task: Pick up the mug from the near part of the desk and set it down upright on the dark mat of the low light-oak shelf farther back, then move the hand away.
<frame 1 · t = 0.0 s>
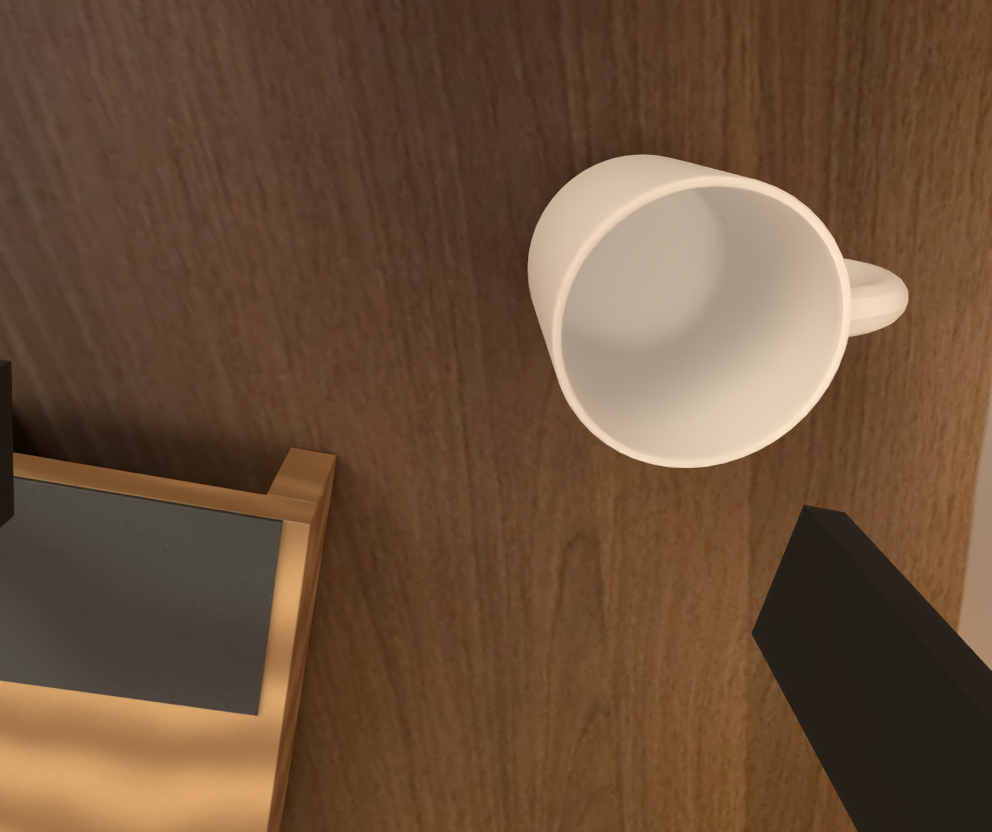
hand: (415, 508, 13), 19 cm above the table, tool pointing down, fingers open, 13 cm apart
shelf: (137, 631, 36), on the table
mug: (674, 260, 31), on the table
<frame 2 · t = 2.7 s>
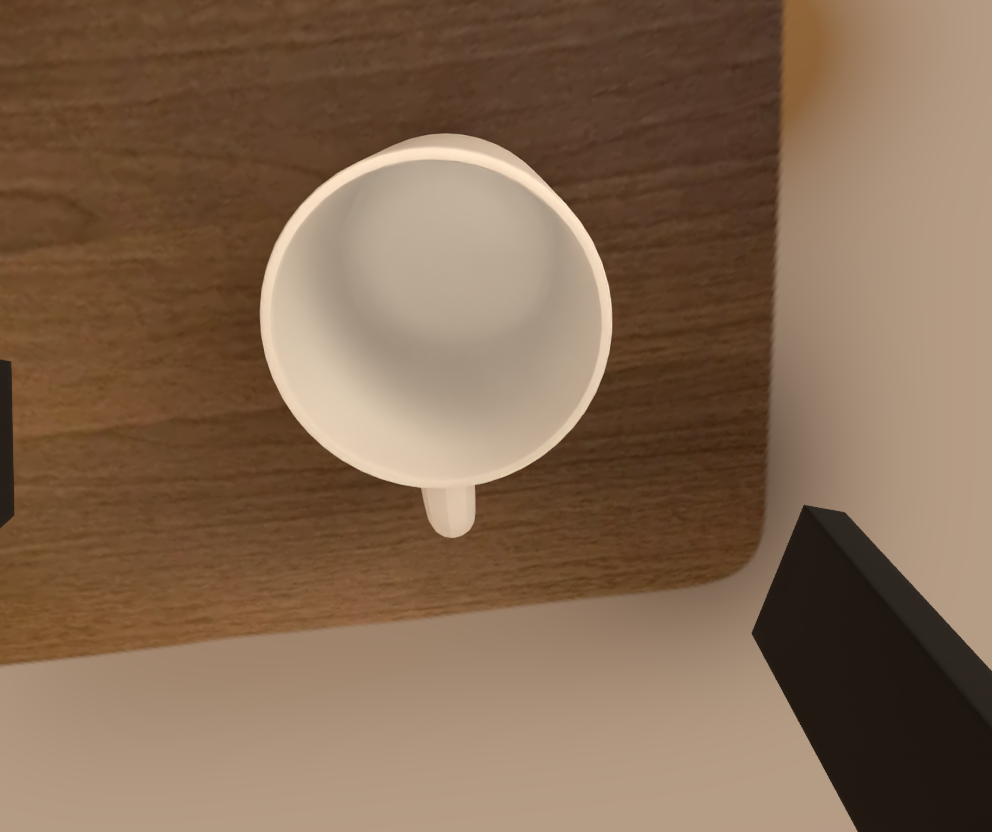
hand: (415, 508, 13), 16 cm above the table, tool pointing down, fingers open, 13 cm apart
mug: (451, 304, 28), on the table
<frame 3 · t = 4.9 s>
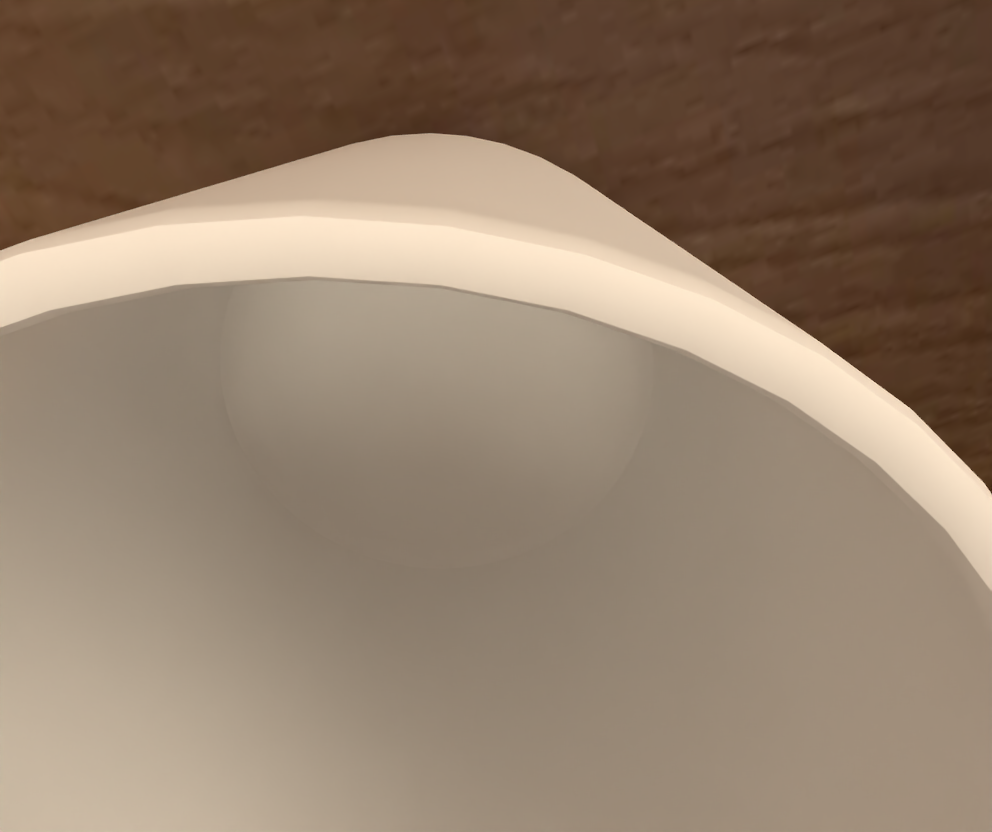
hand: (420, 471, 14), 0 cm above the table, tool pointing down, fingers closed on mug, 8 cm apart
mug: (442, 461, 15), on the table, touching gripper
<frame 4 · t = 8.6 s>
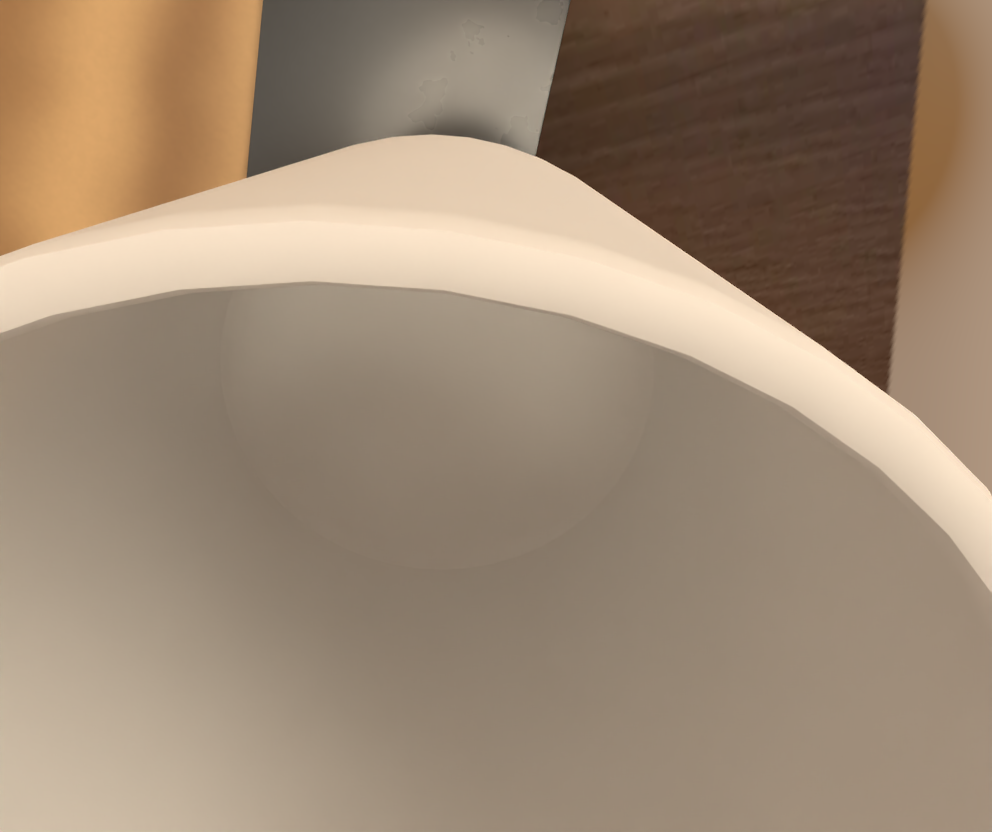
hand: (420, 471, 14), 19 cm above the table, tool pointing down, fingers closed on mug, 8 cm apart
shelf: (238, 137, 30), on the table
mug: (442, 462, 15), point 19 cm above the table, touching gripper
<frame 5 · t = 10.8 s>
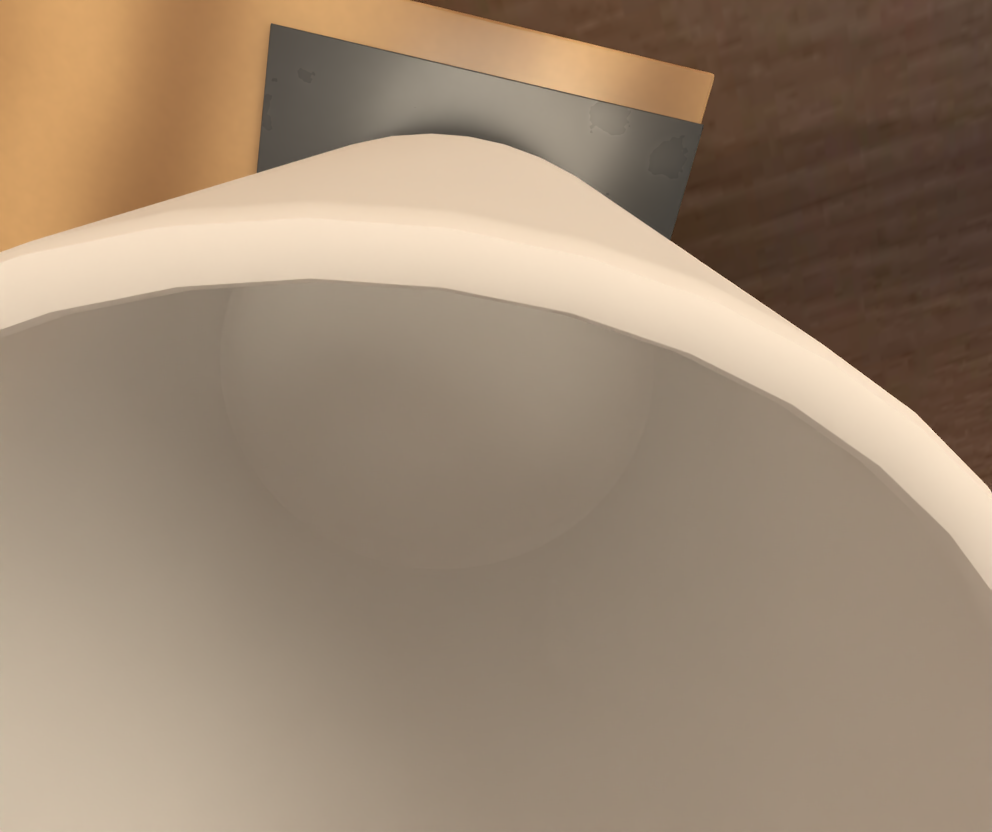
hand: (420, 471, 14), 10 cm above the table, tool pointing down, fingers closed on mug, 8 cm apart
shelf: (228, 281, 23), on the table
mug: (442, 462, 15), point 10 cm above the table, touching gripper
when the fingers open (7 cm above the table, at t = 12.2 s): mug stays where it is, resting on shelf.
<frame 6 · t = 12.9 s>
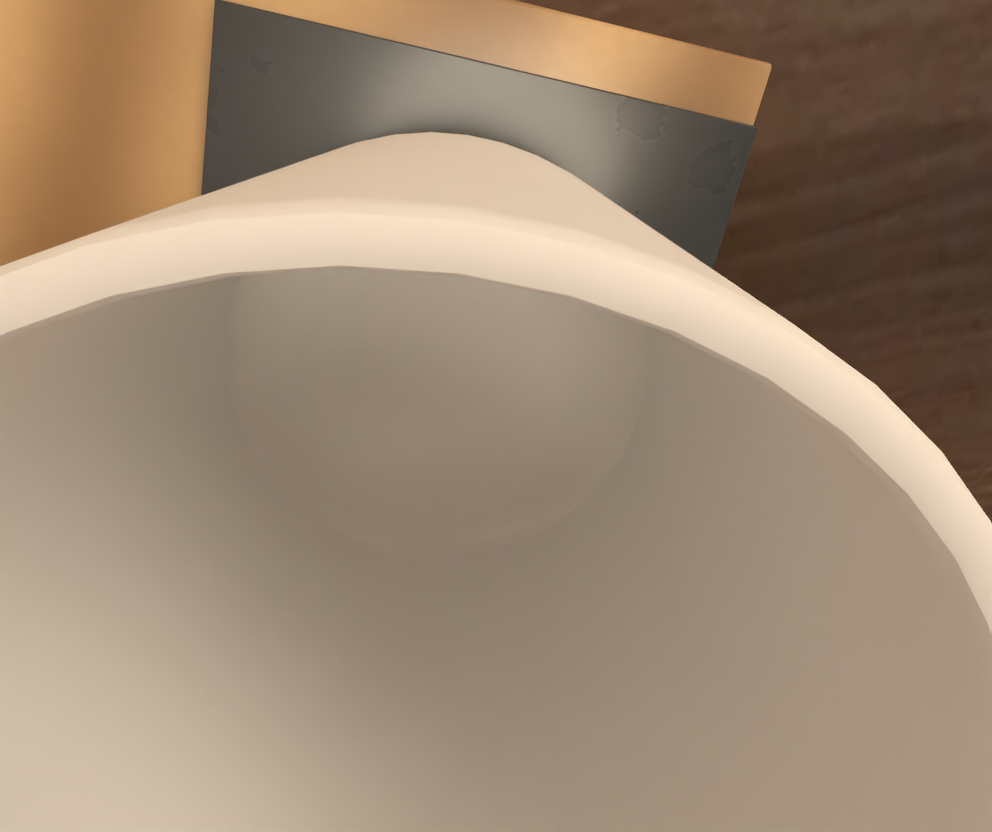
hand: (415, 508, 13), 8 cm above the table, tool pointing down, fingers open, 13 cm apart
shelf: (188, 307, 20), on the table
mug: (442, 452, 15), point 6 cm above the table, touching shelf
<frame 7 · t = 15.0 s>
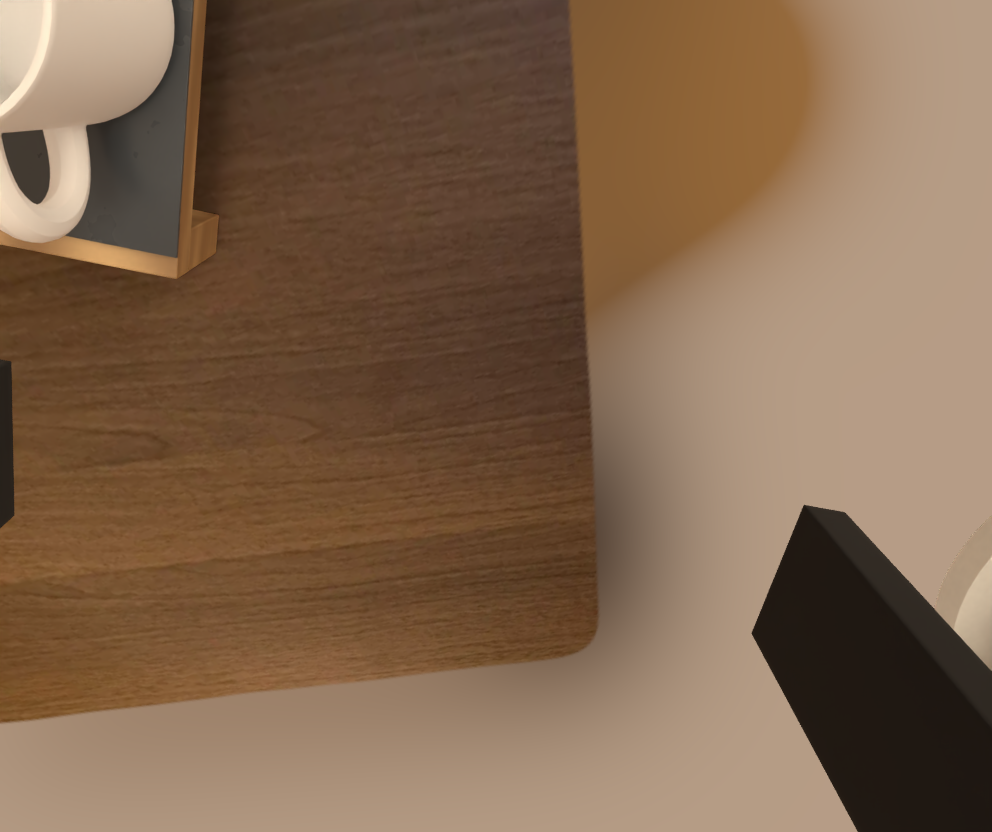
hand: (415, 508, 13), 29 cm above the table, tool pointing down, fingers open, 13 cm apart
mug: (82, 63, 30), point 6 cm above the table, touching shelf
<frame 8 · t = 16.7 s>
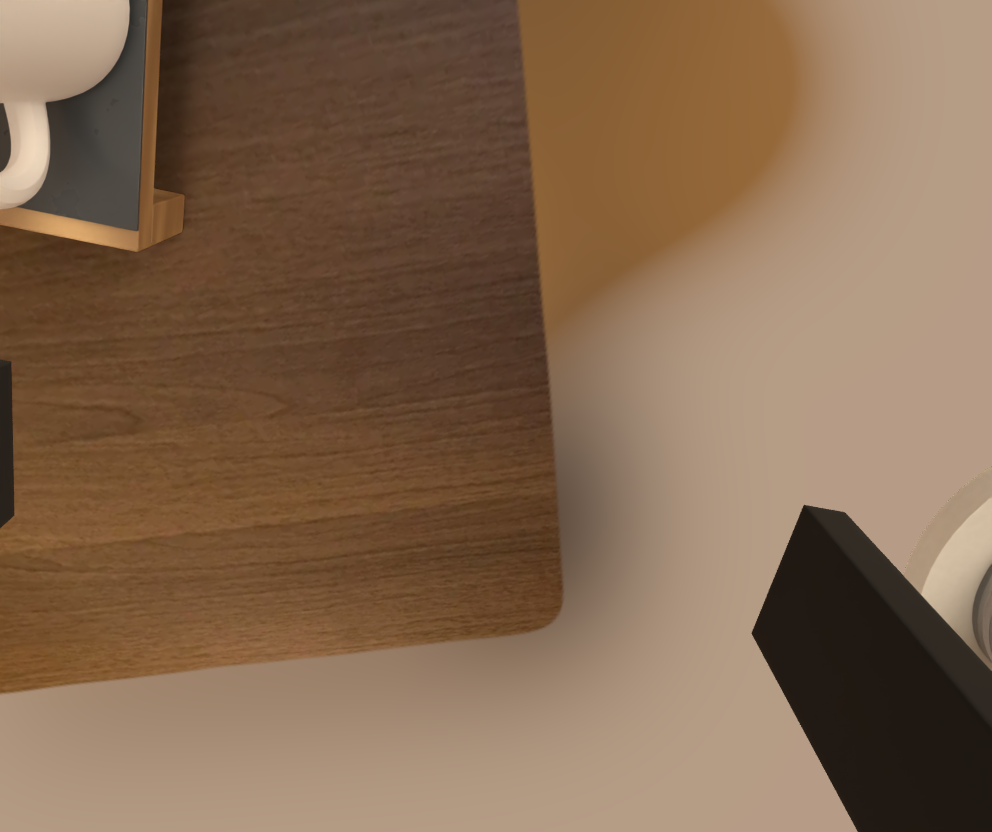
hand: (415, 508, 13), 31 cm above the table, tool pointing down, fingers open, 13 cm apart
mug: (44, 44, 32), point 6 cm above the table, touching shelf
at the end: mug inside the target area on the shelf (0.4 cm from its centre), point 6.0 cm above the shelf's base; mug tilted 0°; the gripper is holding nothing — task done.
